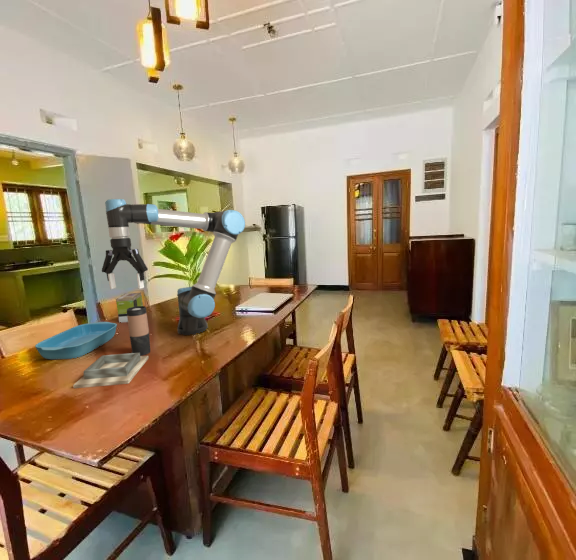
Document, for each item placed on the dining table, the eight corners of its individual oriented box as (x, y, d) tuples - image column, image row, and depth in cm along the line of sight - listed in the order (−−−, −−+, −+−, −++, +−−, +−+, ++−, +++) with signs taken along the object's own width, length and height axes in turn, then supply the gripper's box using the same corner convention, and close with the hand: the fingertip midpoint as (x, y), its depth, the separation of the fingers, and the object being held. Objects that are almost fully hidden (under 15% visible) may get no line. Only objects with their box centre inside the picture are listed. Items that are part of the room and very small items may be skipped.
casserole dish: (77, 364, 132) (74, 347, 130) (25, 365, 133) (22, 348, 132) (126, 334, 168) (124, 320, 167) (85, 335, 169) (83, 321, 168)
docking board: (148, 358, 134) (147, 348, 133) (128, 383, 112) (127, 372, 112) (102, 362, 132) (101, 352, 131) (73, 388, 110) (71, 376, 110)
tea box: (128, 315, 203) (125, 292, 201) (144, 314, 204) (142, 291, 202) (118, 322, 189) (115, 298, 186) (136, 321, 190) (133, 297, 187)
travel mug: (155, 350, 142) (150, 306, 139) (142, 357, 135) (136, 310, 132) (141, 348, 145) (136, 305, 142) (127, 355, 138) (121, 310, 135)
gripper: (152, 236, 134) (158, 286, 138) (101, 238, 139) (108, 286, 143) (141, 237, 127) (147, 289, 130) (87, 239, 132) (95, 290, 136)
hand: (127, 288), depth 137 cm, fingers open, 13 cm apart
